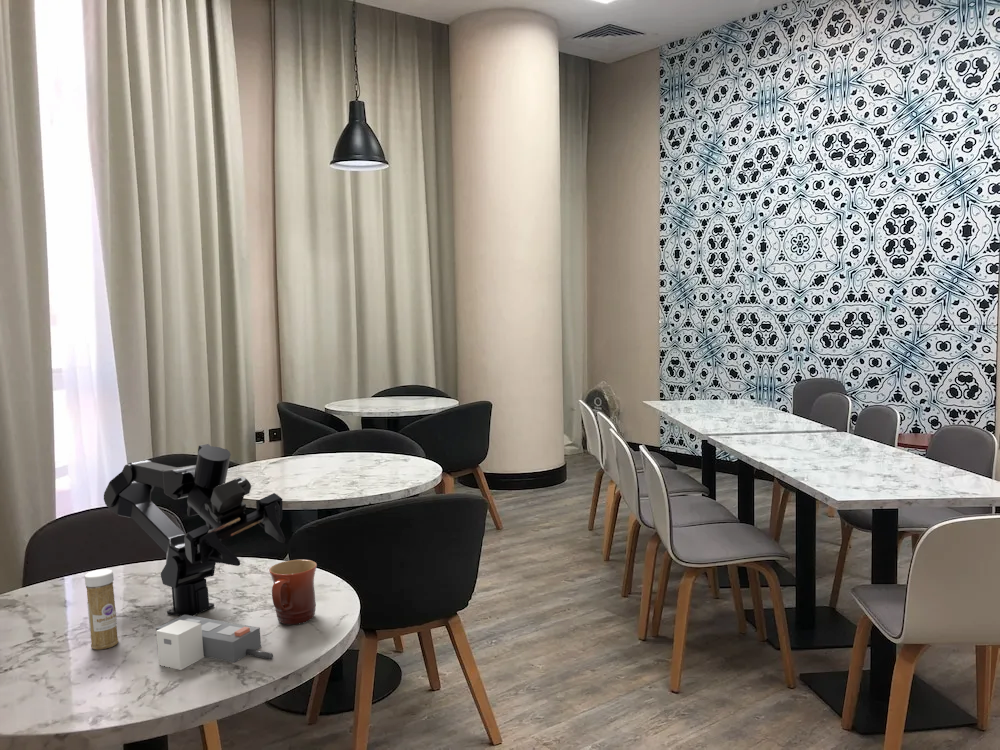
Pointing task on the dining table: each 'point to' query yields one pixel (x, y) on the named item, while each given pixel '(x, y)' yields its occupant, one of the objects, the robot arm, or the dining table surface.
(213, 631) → the power strip
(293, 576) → the mug
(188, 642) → the block
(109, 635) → the sprinkles bottle
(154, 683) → the dining table surface
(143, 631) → the dining table surface
